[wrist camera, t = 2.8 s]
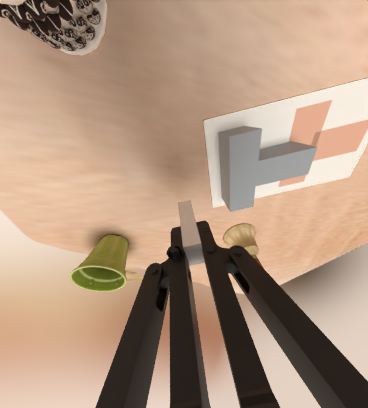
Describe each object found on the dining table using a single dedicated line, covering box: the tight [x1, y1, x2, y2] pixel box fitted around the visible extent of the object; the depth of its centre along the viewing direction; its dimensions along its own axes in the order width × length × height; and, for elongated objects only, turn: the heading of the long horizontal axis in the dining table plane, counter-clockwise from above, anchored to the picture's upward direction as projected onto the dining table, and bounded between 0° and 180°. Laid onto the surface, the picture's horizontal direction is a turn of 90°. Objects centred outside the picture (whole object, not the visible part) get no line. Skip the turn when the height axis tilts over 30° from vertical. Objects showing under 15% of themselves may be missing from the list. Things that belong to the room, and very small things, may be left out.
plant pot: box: [70, 235, 129, 292], centre depth 28 cm, size 9×9×9 cm
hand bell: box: [223, 224, 264, 269], centre depth 27 cm, size 8×8×16 cm
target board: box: [203, 78, 368, 208], centre depth 23 cm, size 16×28×1 cm, turn 102°
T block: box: [218, 126, 317, 212], centre depth 21 cm, size 12×12×4 cm
